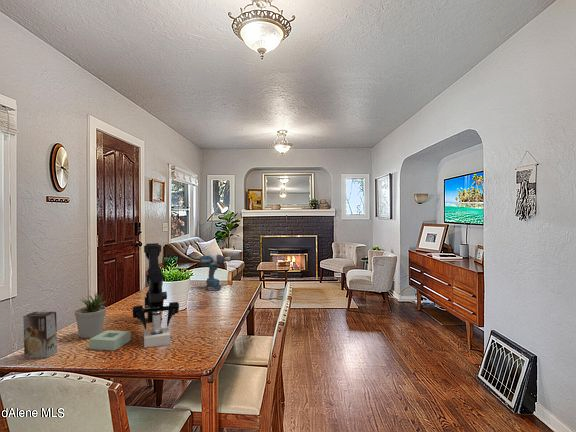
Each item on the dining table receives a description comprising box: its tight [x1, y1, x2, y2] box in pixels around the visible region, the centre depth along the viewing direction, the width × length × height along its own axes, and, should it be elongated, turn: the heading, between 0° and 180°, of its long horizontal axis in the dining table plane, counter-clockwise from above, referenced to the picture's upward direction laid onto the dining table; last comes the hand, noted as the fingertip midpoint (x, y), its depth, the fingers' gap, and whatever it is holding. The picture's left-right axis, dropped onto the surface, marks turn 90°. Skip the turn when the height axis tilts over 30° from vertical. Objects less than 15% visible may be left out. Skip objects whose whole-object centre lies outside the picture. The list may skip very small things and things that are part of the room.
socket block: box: [143, 327, 171, 349], centre depth 150 cm, size 10×10×4 cm
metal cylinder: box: [151, 310, 162, 335], centre depth 150 cm, size 4×4×13 cm
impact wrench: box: [198, 253, 232, 292], centre depth 250 cm, size 8×23×25 cm, turn 89°
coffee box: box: [22, 311, 58, 359], centre depth 137 cm, size 9×6×16 cm
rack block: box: [88, 329, 132, 351], centre depth 148 cm, size 11×11×4 cm
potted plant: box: [73, 291, 107, 339], centre depth 158 cm, size 13×14×20 cm
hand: (156, 327), depth 149 cm, fingers open, 8 cm apart
